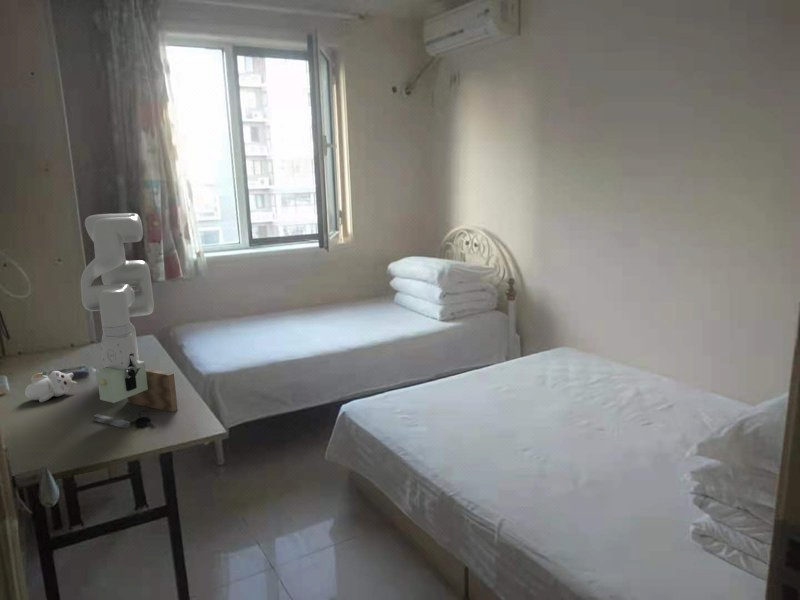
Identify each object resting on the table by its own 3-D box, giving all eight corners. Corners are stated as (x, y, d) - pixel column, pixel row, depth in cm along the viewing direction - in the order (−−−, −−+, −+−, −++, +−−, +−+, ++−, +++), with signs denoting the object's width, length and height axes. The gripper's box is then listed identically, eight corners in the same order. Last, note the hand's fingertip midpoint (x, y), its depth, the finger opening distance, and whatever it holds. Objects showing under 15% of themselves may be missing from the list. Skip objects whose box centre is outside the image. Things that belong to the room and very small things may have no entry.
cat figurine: (19, 376, 188) (70, 361, 197) (19, 383, 194) (68, 368, 203) (30, 403, 186) (80, 387, 196) (29, 409, 193) (78, 393, 202)
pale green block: (97, 400, 172) (93, 371, 170) (134, 386, 183) (131, 359, 181) (110, 404, 169) (107, 374, 167) (147, 389, 180) (144, 361, 178)
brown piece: (87, 418, 177) (82, 381, 174) (133, 400, 191) (129, 365, 189) (133, 430, 168) (128, 390, 165) (177, 409, 182) (173, 373, 180)
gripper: (86, 330, 173) (93, 387, 177) (126, 336, 165) (133, 396, 169) (108, 324, 179) (115, 380, 183) (147, 330, 172) (154, 388, 175)
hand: (123, 387), depth 176 cm, fingers closed on pale green block, 6 cm apart
